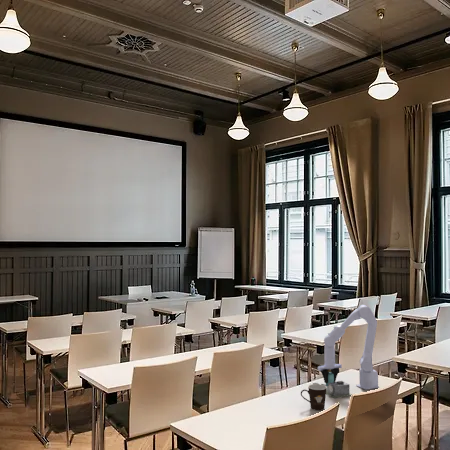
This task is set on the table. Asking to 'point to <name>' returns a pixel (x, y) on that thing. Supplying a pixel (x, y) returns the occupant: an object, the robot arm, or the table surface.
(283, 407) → the table surface
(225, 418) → the table surface
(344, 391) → the motor
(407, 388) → the table surface
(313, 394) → the coffee mug
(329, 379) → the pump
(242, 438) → the table surface
